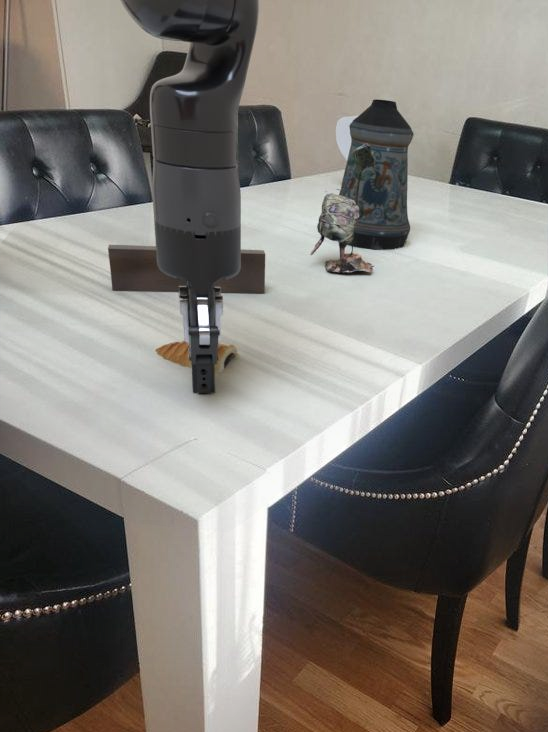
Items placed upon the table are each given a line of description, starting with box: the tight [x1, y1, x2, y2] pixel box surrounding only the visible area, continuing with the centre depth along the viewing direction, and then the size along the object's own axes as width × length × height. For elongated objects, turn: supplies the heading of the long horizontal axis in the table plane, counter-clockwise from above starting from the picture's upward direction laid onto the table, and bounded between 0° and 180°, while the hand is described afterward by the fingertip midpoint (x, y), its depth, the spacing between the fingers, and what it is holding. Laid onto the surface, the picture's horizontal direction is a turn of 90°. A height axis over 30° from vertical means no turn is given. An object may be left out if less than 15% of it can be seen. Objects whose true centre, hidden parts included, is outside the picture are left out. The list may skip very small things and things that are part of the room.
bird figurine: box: [309, 143, 376, 274], centre depth 109 cm, size 8×11×20 cm
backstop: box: [107, 244, 266, 294], centre depth 96 cm, size 22×2×6 cm, turn 104°
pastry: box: [155, 340, 240, 373], centre depth 74 cm, size 9×7×4 cm
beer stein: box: [338, 99, 415, 251], centre depth 129 cm, size 16×19×25 cm
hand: (203, 392), depth 67 cm, fingers closed
